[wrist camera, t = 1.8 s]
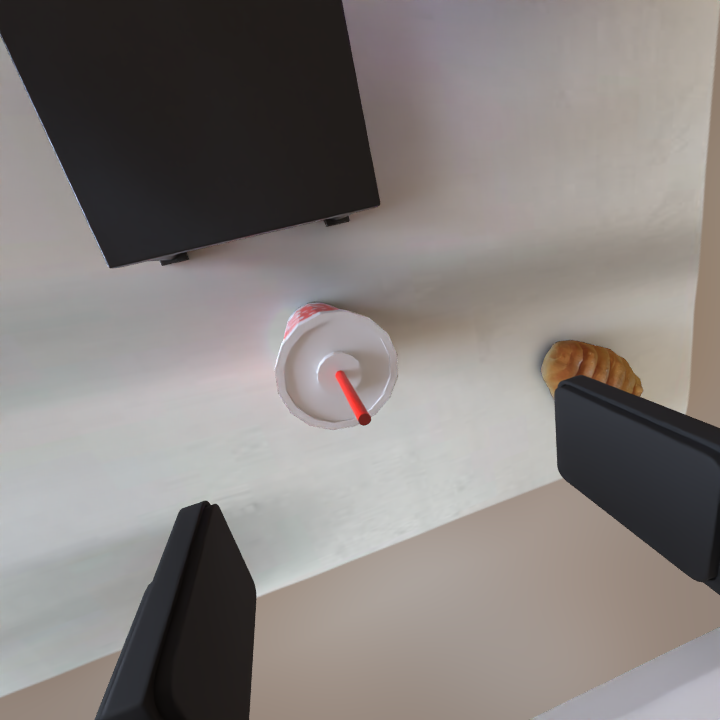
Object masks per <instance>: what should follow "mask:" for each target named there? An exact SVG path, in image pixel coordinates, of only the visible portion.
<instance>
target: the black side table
mask: <svg viewBox="0 0 720 720" xmlns="http://www.w3.org/2000/svg"><path fill="white" fill-rule="evenodd" d="M0 36H1V38H2V40H3V42H4V44H5V47H6V49H7V51H8V53H9V55H10V57H11V59H12V62H13V64H14V66H15V68H16V70H17V72H18V75H19V77H20V79H21V81H22V83H23V85H24V87H25V90H26V92H27V94H28V96H29V98H30V100H31V102H32V105H33V107H34V109H35V111H36V113H37V115H38V117H39V120H40V122H41V124H42V126H43V128H44V130H45V132H46V135H47V137H48V139H49V141H50V143H51V145H52V147H53V150H54V152H55V154H56V156H57V158H58V160H59V162H60V165H61V167H62V169H63V171H64V173H65V175H66V178H67V180H68V182H69V184H70V186H71V188H72V190H73V193H74V195H75V197H76V199H77V201H78V203H79V205H80V208H81V210H82V212H83V214H84V216H85V218H86V220H87V223H88V225H89V227H90V229H91V231H92V233H93V235H94V238H95V240H96V242H97V244H98V246H99V248H100V250H101V253H102V255H103V257H104V259H105V261H106V263H107V265H108V267H109V268H120V267H124V266H129V265H133V264H137V263H142V262H146V261H159V260H160V263H161V265H162V266H164V265H168V264H172V263H176V262H181V261H185V260H189V257H188V255H187V252H188V251H193V250H197V249H201V248H206V247H210V246H214V245H218V244H223V243H227V242H231V241H235V240H240V239H244V238H248V237H253V236H257V235H261V234H265V233H270V232H274V231H278V230H282V229H287V228H291V227H295V226H300V225H304V224H308V223H312V222H317V221H321V220H325V224H326V227H328V226H332V225H336V224H341V223H345V222H349V221H350V220H349V215H351V214H353V213H355V212H359V211H364V210H368V209H372V208H375V207H378V206H379V205H380V199H379V194H378V188H377V183H376V178H375V173H374V167H373V162H372V157H371V152H370V146H369V141H368V136H367V130H366V125H365V120H364V115H363V109H362V104H361V99H360V94H359V88H358V83H357V78H356V73H355V67H354V62H353V57H352V52H351V46H350V41H349V36H348V31H347V25H346V20H345V15H344V10H343V4H342V0H0Z"/></svg>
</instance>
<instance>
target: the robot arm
mask: <svg viewBox="0 0 720 720" xmlns="http://www.w3.org/2000/svg"><path fill="white" fill-rule="evenodd" d="M554 399H555V422H556V444H557V466H558V470H559V473H560V474H561V476H562V477H563V478H564V479H565V480H566V481H567V482H568V483H570V484H571V485H572V486H574V487H575V488H576V489H578V490H579V491H580V492H581V493H582V494H584V495H585V496H586V497H588V498H589V499H590V500H591V501H593V502H594V503H595V504H597V505H598V506H599V507H601V508H602V509H603V510H605V511H606V512H607V513H608V514H609V515H611V516H612V517H613V518H615V519H616V520H617V521H618V522H620V523H621V524H622V525H624V526H625V527H626V528H627V529H629V530H630V531H631V532H633V533H634V534H635V535H636V536H638V537H639V538H640V539H642V540H643V541H644V542H645V543H647V544H648V545H649V546H651V547H652V548H653V549H655V550H656V551H657V552H658V553H660V554H661V555H662V556H663V557H665V558H666V559H667V560H669V561H670V562H671V563H672V564H674V565H675V566H676V567H677V568H679V569H680V570H681V571H683V572H684V573H685V574H687V575H688V576H689V577H691V578H692V579H694V580H696V581H699V582H703V583H705V584H706V585H707V586H709V587H710V588H711V589H713V590H714V591H715V592H716V593H718V594H719V595H720V428H718V427H715V426H713V425H710V424H707V423H705V422H703V421H700V420H697V419H694V418H692V417H690V416H687V415H685V414H682V413H679V412H677V411H674V410H672V409H669V408H667V407H664V406H662V405H659V404H656V403H654V402H651V401H649V400H646V399H644V398H641V397H638V396H636V395H633V394H631V393H628V392H626V391H623V390H621V389H618V388H615V387H613V386H610V385H608V384H605V383H603V382H600V381H597V380H595V379H592V378H590V377H587V376H584V375H577V376H575V377H572V378H569V379H566V380H563V381H561V382H559V384H558V387H557V389H555V392H554ZM255 612H256V589H255V584H254V581H253V579H252V577H251V575H250V572H249V570H248V568H247V566H246V564H245V562H244V559H243V557H242V555H241V553H240V551H239V549H238V546H237V544H236V542H235V540H234V538H233V535H232V533H231V531H230V529H229V527H228V525H227V522H226V520H225V518H224V516H223V514H222V512H221V509H220V507H219V506H218V505H217V504H213V505H210V503H209V502H208V501H203V502H200V503H197V504H194V505H191V506H188V507H185V508H182V509H181V510H180V511H179V513H178V516H177V518H176V521H175V524H174V526H173V529H172V532H171V534H170V537H169V539H168V542H167V545H166V547H165V550H164V552H163V555H162V558H161V560H160V563H159V565H158V568H157V571H156V573H155V576H154V579H153V581H152V582H151V583H150V584H149V585H148V587H147V589H146V591H145V593H144V595H143V598H142V600H141V603H140V605H139V608H138V611H137V613H136V616H135V618H134V621H133V623H132V626H131V628H130V631H129V633H128V636H127V638H126V641H125V644H124V646H123V649H122V651H121V654H120V657H119V659H118V661H117V664H116V666H115V669H114V672H113V674H112V677H111V679H110V682H109V684H108V687H107V689H106V692H105V694H104V697H103V699H102V702H101V705H100V707H99V710H98V712H97V715H96V718H95V720H249V712H250V695H251V678H252V662H253V646H254V628H255ZM530 720H720V627H719V628H717V629H715V630H712V631H710V632H708V633H706V634H704V635H702V636H700V637H698V638H696V639H694V640H692V641H690V642H687V643H685V644H684V645H681V646H679V647H677V648H675V649H673V650H671V651H669V652H667V653H665V654H663V655H661V656H659V657H657V658H655V659H652V660H650V661H649V662H646V663H644V664H642V665H640V666H638V667H636V668H634V669H632V670H630V671H628V672H626V673H624V674H622V675H620V676H618V677H616V678H614V679H611V680H609V681H607V682H605V683H604V684H601V685H599V686H597V687H595V688H593V689H591V690H589V691H587V692H585V693H583V694H581V695H579V696H577V697H575V698H573V699H571V700H569V701H567V702H564V703H563V704H560V705H558V706H556V707H554V708H553V709H550V710H548V711H546V712H544V713H542V714H540V715H538V716H536V717H534V718H532V719H530Z"/></svg>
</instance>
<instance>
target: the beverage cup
mask: <svg viewBox="0 0 720 720" xmlns="http://www.w3.org/2000/svg"><path fill="white" fill-rule="evenodd" d="M275 375H276V382H277V388H278V394H279V396H280V397H281V399H282V400H283V402H284V403H285V405H286V407H287V408H288V410H289V411H290V413H291V414H293V415H294V416H296V417H297V418H299V419H300V420H302V421H304V422H305V423H307V424H308V425H310V426H314V427H319V428H324V429H330V430H336V429H341V428H347V427H353V426H356V425H358V424H361V425H367V424H369V423H370V421H371V417H372V416H374V415H375V414H376V413H377V412H378V411H379V410H380V409H381V407H382V406H383V405H384V404H385V403H386V402H387V401H388V399H389V398H390V396H391V394H392V391H393V388H394V386H395V383H396V380H397V377H398V362H397V352H396V350H395V348H394V346H393V344H392V342H391V340H390V337H389V335H388V333H386V332H385V331H384V330H383V329H382V328H381V327H379V326H378V325H377V324H376V323H375V322H374V321H373V320H371V319H370V318H369V317H366V316H364V315H360V314H357V313H354V312H351V311H348V310H344V309H341V310H340V309H338V308H336V307H334V306H331V305H328V304H325V303H322V302H316V303H307V304H306V305H304V306H302V307H300V308H298V309H296V311H295V312H294V313H293V314H292V316H291V317H290V318H289V319H288V323H287V326H286V330H285V336H284V340H283V342H282V344H281V347H280V351H279V354H278V358H277V361H276V365H275Z"/></svg>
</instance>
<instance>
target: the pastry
mask: <svg viewBox="0 0 720 720" xmlns="http://www.w3.org/2000/svg"><path fill="white" fill-rule="evenodd" d="M541 373H542V375H543V379H544V381H545V382H546V384H547V386H548V387H549V390H550V393H551V395H552V397H553V399H554V392H555V389H557V387H558V384H559V382H561V381H563V380H566V379H569V378H572V377H575V376H577V375H584V376H587V377H590V378H592V379H595V380H597V381H600V382H603V383H605V384H608V385H610V386H613V387H615V388H618V389H621V390H623V391H626V392H628V393H631V394H633V395H636V396H638V397H640V396H641V394H642V392H643V388H642V386H641V380H640V378H638V377H637V376H636V375H635V374H634V372H633V371H632V368H631V367H630V366H629V364H628V362H627V361H626V360H625V359H624V358H622V357H620V356H618V355H617V354H616V353H614V352H613V351H612V350H611V349H608V348H604V347H601V346H595V345H591V344H587V343H584V342H579V341H573V340H567V341H558V342H556V343H555V344H553V346H552V347H551V349H550V350H549V351H548V353H547V354H546V356H545V358H544V361H543V364H542V367H541ZM554 400H555V399H554Z"/></svg>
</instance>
